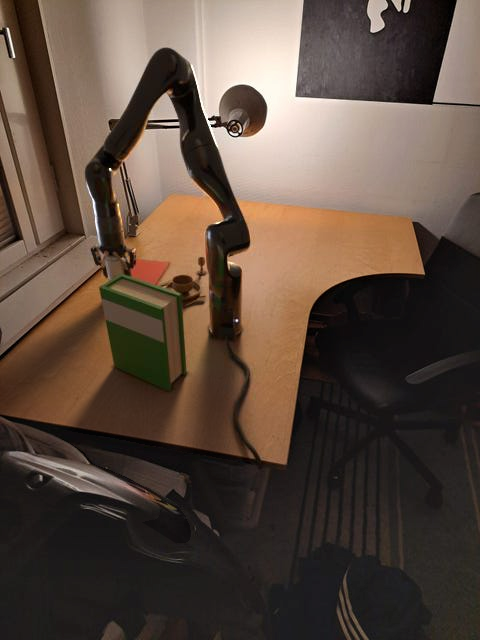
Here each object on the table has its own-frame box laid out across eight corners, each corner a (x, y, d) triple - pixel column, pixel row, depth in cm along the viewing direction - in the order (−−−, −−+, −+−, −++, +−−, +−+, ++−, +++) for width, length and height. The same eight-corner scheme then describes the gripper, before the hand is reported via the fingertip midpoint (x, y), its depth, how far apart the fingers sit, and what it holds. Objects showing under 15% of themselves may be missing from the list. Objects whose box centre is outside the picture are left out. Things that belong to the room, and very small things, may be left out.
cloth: (152, 290, 141) (152, 289, 141) (112, 286, 143) (112, 285, 142) (169, 263, 157) (169, 262, 157) (133, 260, 159) (133, 259, 159)
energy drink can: (113, 290, 140) (105, 249, 131) (131, 290, 140) (125, 249, 132) (109, 300, 135) (101, 258, 126) (128, 300, 135) (122, 258, 127)
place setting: (153, 287, 143) (152, 271, 140) (201, 270, 154) (201, 255, 150) (182, 309, 132) (181, 293, 129) (232, 289, 143) (232, 274, 139)
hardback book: (186, 373, 108) (181, 293, 94) (169, 391, 103) (160, 309, 89) (133, 351, 115) (121, 273, 101) (114, 366, 110) (99, 287, 96)
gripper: (80, 231, 122) (91, 281, 132) (128, 235, 121) (135, 285, 130) (92, 221, 128) (101, 270, 138) (137, 225, 127) (143, 274, 136)
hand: (117, 277), depth 134 cm, fingers closed on energy drink can, 6 cm apart
